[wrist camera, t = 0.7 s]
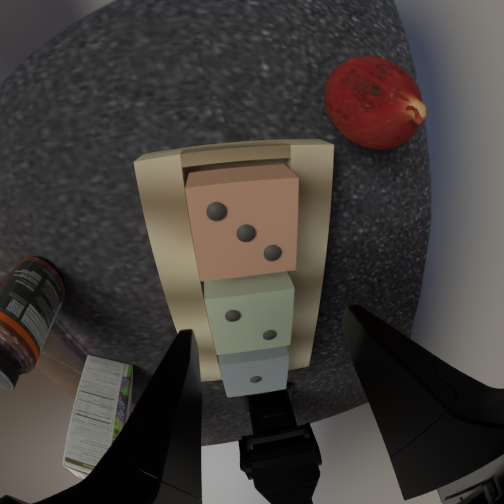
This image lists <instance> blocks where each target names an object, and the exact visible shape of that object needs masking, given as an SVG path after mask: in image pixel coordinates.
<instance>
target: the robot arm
mask: <svg viewBox="0 0 504 504" xmlns="http://www.w3.org/2000/svg"><path fill="white" fill-rule="evenodd" d="M342 329H343V332H344V335H345V339H346V342H347V345H348V349H349V352H350V355H351V359H352V362H353V365H354V367H355V370H356V372H357V375H358V377H359V380H360V382H361V384H362V387H363V389H364V392H365V394H366V397H367V399H368V401H369V404H370V406H371V409H372V412H373V414H374V416H375V419H376V422H377V424H378V427H379V430H380V432H381V435H382V438H383V440H384V443H385V445H386V448H387V451H388V454H389V457H390V460H391V463H392V466H393V468H394V471H395V474H396V477H397V480H398V483H399V486H400V489H401V492H402V495H403V498H404V500H408V499H411V498H414V497H417V496H420V495H423V494H425V493H428V492H430V491H433V490H436V489H437V491H438V494H439V496H440V499H441V502H442V504H504V389H497V388H492V387H489V386H487V385H485V384H483V383H481V382H479V381H477V380H475V379H473V378H472V377H469V376H468V375H466V374H464V373H462V372H460V371H459V370H457V369H456V368H454V367H452V366H450V365H449V364H447V363H446V362H444V361H443V360H441V359H440V358H438V357H437V356H435V355H432V353H431V352H429V351H428V350H426V349H425V348H423V347H422V346H420V345H419V344H417V343H416V342H414V341H413V340H411V339H410V338H408V337H407V336H405V335H404V334H402V333H401V332H399V331H398V330H396V329H395V328H393V327H392V326H390V325H389V324H387V323H386V322H384V321H383V320H381V319H380V318H378V317H377V316H375V315H374V314H372V313H370V312H369V311H367V310H366V309H364V308H363V307H361V306H360V305H358V304H354V305H349V306H347V307H346V308H345V312H344V316H343V320H342ZM292 392H293V384H292V383H287V384H286V389H283V390H277V391H271V392H265V393H258V394H251V395H244V400H245V406H246V412H250V418H251V424H252V430H253V435H249V436H246V435H245V436H242V439H241V440H239V441H238V442H239V449H240V468H241V470H242V471H244V472H245V473H246V475H247V477H248V479H249V480H251V479H253V481H254V486H255V488H256V489H257V491H258V492H259V493H260V494H261V495H262V496H263V497H264V498H265V499H266V500H267V501H269V502H270V503H271V504H313V502H312V496H313V493H314V490H315V488H316V485H317V483H318V479H319V477H320V470H319V467H318V466H319V465H322V459H321V454H320V450H319V447H318V444H317V441H316V439H315V436H314V434H313V431H312V428H311V426H310V423H306V424H304V425H300V426H297V423H296V419H295V416H294V412H293V408H292V404H291V398H292ZM133 411H134V412H131V414H130V416H129V418H128V420H127V421H126V423H125V425H124V426H123V428H122V430H121V431H120V433H119V434H118V436H117V437H116V439H115V440H114V441H113V443H112V444H111V446H110V447H109V448H108V450H107V451H106V452H105V454H104V455H103V456H102V458H101V459H100V461H99V462H98V463H97V465H96V466H95V467H94V469H93V470H92V471H91V472H90V474H89V475H88V476H87V477H86V478H85V479H83V480H82V481H81V482H79V483H78V484H76V485H74V486H72V487H70V488H68V489H66V490H64V491H62V492H59V493H57V494H55V495H53V496H51V497H48V498H46V499H44V500H41V501H39V502H36V503H33V504H202V485H201V484H202V483H201V416H202V384H201V374H200V363H199V351H198V345H197V341H196V338H195V335H194V331H193V330H192V329H182V330H180V331H179V332H178V334H177V336H176V337H175V339H174V341H173V342H172V344H171V346H170V347H169V349H168V351H167V353H166V354H165V356H164V358H163V359H162V361H161V363H160V364H159V366H158V368H157V369H156V371H155V373H154V375H153V376H152V378H151V380H150V381H149V383H148V385H147V387H146V388H145V390H144V392H143V394H142V395H141V397H140V399H139V400H138V402H137V404H136V406H135V407H134V409H133ZM0 504H29V503H27V502H24V501H21V500H19V499H17V498H14V497H12V496H9V495H5V496H3V497H2V498H0Z"/></svg>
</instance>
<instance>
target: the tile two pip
mask: <svg viewBox="0 0 504 504" xmlns="http://www.w3.org/2000/svg"><path fill="white" fill-rule="evenodd" d="M294 289H295V288H294V286H293V284H292V281H291V279H290V277H289V274H288V272H287V271H285V272H277V273H270V274H262V275H253V276H245V277H237V278H228V279H220V280H211V281H204V301H205V306H206V311H207V315H208V320H209V325H210V329H211V334H212V338H213V342H214V347H215V351H216V355H222V354H231V353H239V352H247V351H254V350H261V349H268V348H274V347H281V346H286V345H290V343H291V331H292V318H293V305H294Z"/></svg>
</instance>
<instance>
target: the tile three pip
mask: <svg viewBox="0 0 504 504" xmlns="http://www.w3.org/2000/svg"><path fill="white" fill-rule="evenodd" d="M185 192H186V199H187V206H188V213H189V219H190V225H191V231H192V237H193V243H194V249H195V255H196V260H197V266H198V271H199V276H200V281H201V282H202V281H211V280H220V279H228V278H237V277H245V276H253V275H262V274H270V273H277V272H285V271H293V270H296V253H297V229H298V193H299V177H297V176H296V175H295V174H294V173H293V172H292V171H291V170H290V169H289V168H287V167H286V166H285V165H284V164H279V165H263V166H249V167H237V168H227V169H217V170H208V171H199V172H191V173H189V175H188V179H187V182H186V186H185Z"/></svg>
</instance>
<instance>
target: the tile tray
mask: <svg viewBox="0 0 504 504" xmlns="http://www.w3.org/2000/svg"><path fill="white" fill-rule="evenodd" d="M333 158H334V145H333V144H331V143H328V142H326V141H323V140H321V139H282V140H259V141H243V142H231V143H220V144H210V145H201V146H193V147H186V148H179V149H172V150H165V151H159V152H153V153H148V154H143V155H142V156H140V157H139V158H138V159H137V160H136V161H134V167H135V172H136V178H137V183H138V189H139V194H140V199H141V203H142V208H143V213H144V217H145V222H146V226H147V230H148V234H149V239H150V243H151V246H152V250H153V254H154V258H155V262H156V265H157V269H158V273H159V276H160V280H161V283H162V286H163V290H164V293H165V296H166V300H167V303H168V306H169V309H170V312H171V315H172V318H173V321H174V324H175V327H176V330H177V333H178V332H179V331H180V330H182V329H192V330H193V331H194V335H195V338H196V341H197V345H198V351H199V363H200V374H201V382H202V381H214V380H223V379H222V375H221V371H220V367H219V359H218V355H216V351H215V347H214V342H213V338H212V334H211V329H210V325H209V320H208V315H207V311H206V306H205V301H204V281H202V282H201V281H200V276H199V271H198V266H197V260H196V255H195V249H194V243H193V237H192V231H191V225H190V219H189V213H188V206H187V199H186V192H185V186H186V182H187V179H188V175H189V173H191V172H199V171H208V170H217V169H227V168H237V167H249V166H263V165H279V164H284V165H285V166H286V167H287V168H289V169H290V170H291V171H292V172H293V173H294V174H295V175H296V176H297V177H299V193H298V229H297V253H296V270H293V271H287V272H288V274H289V277H290V279H291V281H292V284H293V286H294V288H295V289H294V305H293V318H292V331H291V343H290V345H286V346H287V349H288V353H289V364H288V370H292V369H297V368H303V367H307V366H309V362H310V357H311V352H312V346H313V341H314V335H315V329H316V323H317V317H318V311H319V304H320V297H321V290H322V283H323V275H324V268H325V259H326V250H327V241H328V231H329V220H330V208H331V194H332V178H333Z"/></svg>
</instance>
